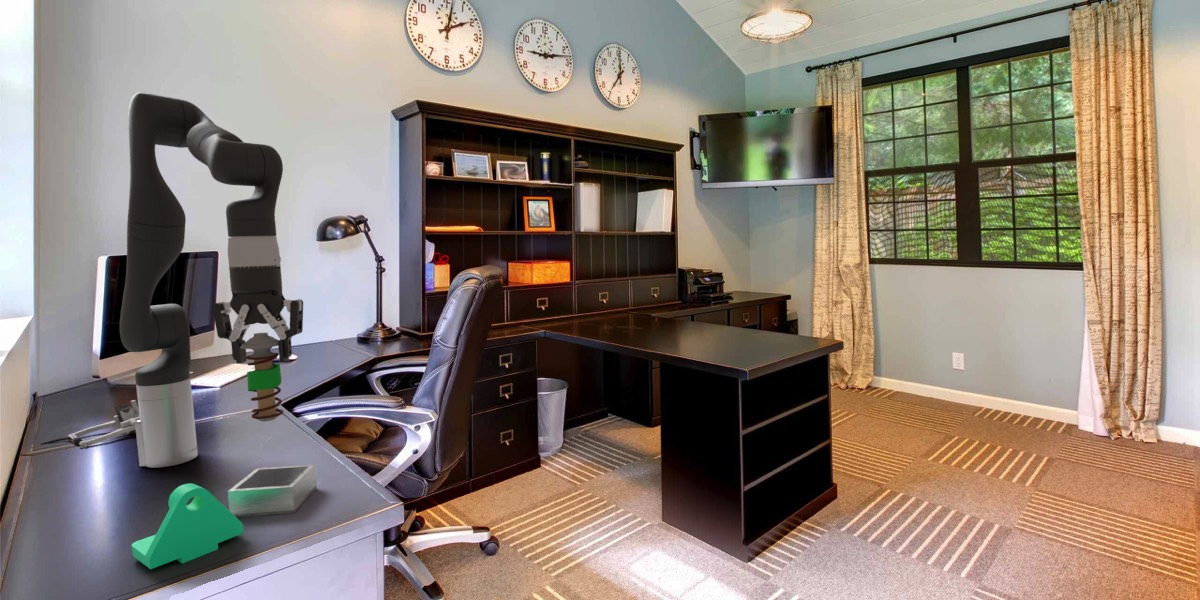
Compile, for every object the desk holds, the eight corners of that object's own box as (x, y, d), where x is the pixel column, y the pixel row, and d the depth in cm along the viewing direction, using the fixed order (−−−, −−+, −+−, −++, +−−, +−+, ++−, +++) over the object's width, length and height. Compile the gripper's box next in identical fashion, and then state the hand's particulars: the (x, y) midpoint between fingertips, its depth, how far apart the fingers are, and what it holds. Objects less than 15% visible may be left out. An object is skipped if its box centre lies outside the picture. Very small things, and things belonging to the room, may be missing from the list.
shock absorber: (277, 412, 107) (270, 329, 106) (295, 417, 104) (289, 332, 102) (239, 421, 102) (232, 334, 101) (257, 427, 98) (249, 337, 97)
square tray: (230, 517, 99) (227, 491, 98) (258, 492, 109) (256, 468, 108) (294, 512, 100) (292, 487, 99) (316, 488, 110) (314, 464, 109)
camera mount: (221, 527, 96) (215, 465, 95) (244, 539, 91) (238, 475, 90) (131, 561, 86) (123, 492, 85) (151, 576, 82) (143, 504, 81)
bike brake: (144, 420, 156) (44, 453, 141) (136, 396, 155) (34, 427, 140) (161, 430, 148) (56, 466, 133) (153, 404, 146) (46, 438, 131)
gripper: (197, 266, 96) (206, 368, 97) (290, 263, 97) (298, 364, 99) (221, 264, 103) (230, 359, 105) (308, 261, 105) (315, 355, 106)
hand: (263, 361), depth 102 cm, fingers closed on shock absorber, 6 cm apart
